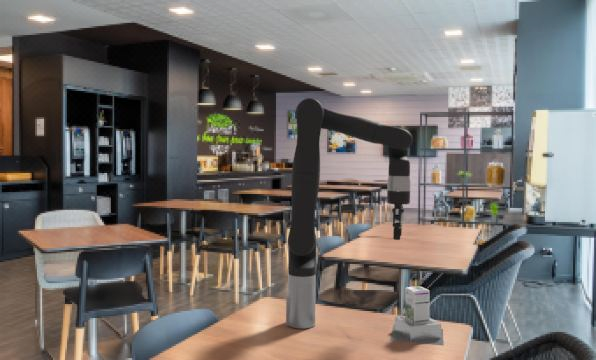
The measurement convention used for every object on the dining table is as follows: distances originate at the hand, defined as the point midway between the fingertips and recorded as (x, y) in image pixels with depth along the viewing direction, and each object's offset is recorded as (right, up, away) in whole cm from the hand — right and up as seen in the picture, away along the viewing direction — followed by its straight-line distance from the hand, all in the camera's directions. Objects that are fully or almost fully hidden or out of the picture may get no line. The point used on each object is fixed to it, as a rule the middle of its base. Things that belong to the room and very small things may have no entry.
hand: (397, 237), depth 176 cm
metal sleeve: (+4, -29, -12) cm, 32 cm away
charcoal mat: (+4, -30, -12) cm, 33 cm away
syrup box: (+4, -29, -12) cm, 32 cm away
